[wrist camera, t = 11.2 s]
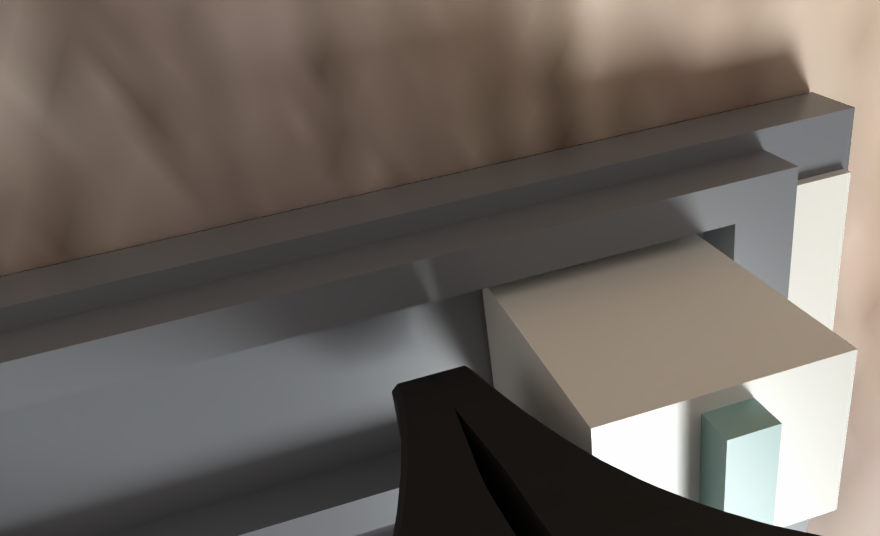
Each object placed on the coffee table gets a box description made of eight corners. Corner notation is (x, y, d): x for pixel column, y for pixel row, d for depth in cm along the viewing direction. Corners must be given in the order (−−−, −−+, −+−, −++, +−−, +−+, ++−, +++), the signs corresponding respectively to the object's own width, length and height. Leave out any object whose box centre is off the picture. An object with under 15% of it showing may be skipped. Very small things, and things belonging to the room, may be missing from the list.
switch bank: (771, 557, 22) (826, 621, 20) (-2, 824, 19) (-23, 933, 17) (811, 92, 16) (895, 121, 14) (-324, 350, 13) (-413, 437, 11)
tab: (682, 358, 17) (863, 537, 12) (496, 412, 16) (618, 622, 11) (684, 225, 15) (890, 372, 11) (480, 277, 14) (612, 458, 10)
